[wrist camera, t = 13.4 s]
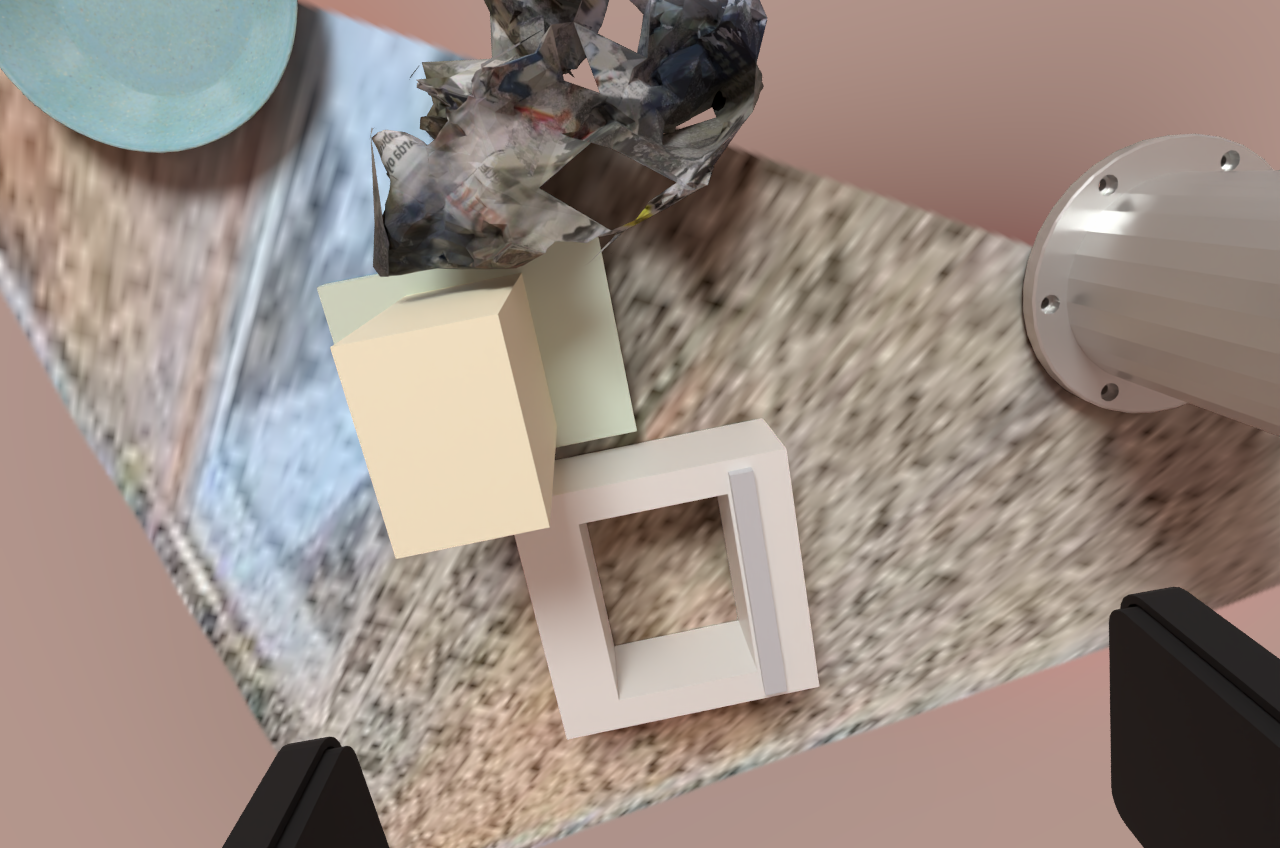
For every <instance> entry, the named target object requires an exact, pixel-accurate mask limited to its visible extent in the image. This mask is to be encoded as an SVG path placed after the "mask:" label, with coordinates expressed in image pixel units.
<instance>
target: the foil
mask: <svg viewBox="0 0 1280 848" xmlns="http://www.w3.org/2000/svg"><path fill="white" fill-rule="evenodd" d="M484 1H485V3H486V5H487V7H488V9H489V11H490V21H491V43H492V58H491V59H481V60H460V61H439V62H422V65H423V68H424V72H425V76H426V79H419V80H417V81H418V82H419V83H417V88H419V89H421V90H423V91H426V92H428V94H429V95H430V96H431V97H432V101H433V106H432V108H431V109H430V111H429V113H428V115H427V116H425V117H421V120H420V129H422V130H425V131H427V132H428V133H429V135H430V136H432V137H433V138H434V139H435V140H434V141H432V142H431V143H430V144H429V145H427V144H426V143H424V142H423V141H422V140H420V139H418V138H416V137H414V136H412V135H410V134H408V133H405V132H399V131H391V130H383V131H381V132H378V133H377V134H376V135H374V136H373V137H372V140H373V142H374V144H375V145H376V147H377V149H378V152H379V154H380V157H381V160H382V163H383V165H384V167H385V169H386V171H387V176H388V177H389V178H390V182H391V183H390V190H389V194H388V198H387V201H386V204H385V211H384V213H383V215H382V212H381V204H380V197H379V190H378V183H377V176H376V169H375V162H374V154H373V147H372V140H371V150H372V173H373V196H374V219H375V229H374V257H373V267H374V269H375V270H376V272H377V273H378V274H379V276H380V277H389V276H398V275H404V274H409V273H414V272H418V271H425V270H431V269H437V268H438V269H514V268H518V267H520V266H524V265H525V264H527V263H528V262H530V261H532V260H534V259H535V258H537V257H539V256H541V255H543V254H545V253H546V250H547V248H549V247H550V246H551V245H552V244H553V243H554V242H555V241H563V242H580V243H588V242H589V241H591V240H592V239H594V238H596V237H601V236H605V235H610V234H615V233H617V234H616V235H615V236H614V237H613V238H612V239H611V240H610V242H609V243H608V244H607V245H606V246H605V247H604V248H603V249H602V250H601V251H600V252H602V251H603V250H604V249H605V248H606V247H607V246H608V245H609V244H610V243H611V242H612V241H614V240H615V239H616V238H617V237H618V236H619V235H620V234H621V233H622V232H623V231H625V230H627V229H629V228H630V227H632V226H634V225H636V224H638V223H640V222H642V221H644V220H645V219H647V218H649V217H651V216H653V215H655V214H657V213H658V212H660V211H662V210H664V209H666V208H668V207H670V206H671V205H673V204H675V203H676V202H678V201H680V200H681V199H683V198H685V197H686V196H688V195H690V194H692V193H693V192H695V191H697V190H698V189H700V188H702V187H704V186H707V185H708V183H709V180H710V177H711V174H712V171H713V169H714V167H713V166H714V164H715V163H716V161H717V160H718V159H719V157H720V156H721V154H722V153H723V151H724V150H725V149H726V147H727V146H728V144H729V143H730V141H731V140H732V139H733V137H734V136H735V134H736V133H737V131H738V130H739V129H740V127H741V126H742V124H743V123H744V122H745V121H746V119H747V118H748V117H749V116H750V114H751V113H752V112H753V110H754V107H755V105H756V102H757V100H758V98H759V94H760V91H761V90H762V89H763V83H762V73H761V71H760V70H759V68H758V66H757V64H756V63H757V59H758V54H759V51H760V46H761V42H762V38H763V34H764V30H765V26H766V22H767V16H766V14H765V12H764V10H763V7H762V5H761V2H760V0H630V1H631V2H632V3H633V4H634V5H635V6H636V7H637V8H638V9H639V10H640V11H641V12H642V13H643V14H644V15H643V22H642V29H641V36H640V41H639V46H638V52H637V53H636V52H634V51H632V50H630V49H628V48H626V47H624V46H622V45H620V44H618V43H615V42H613V41H611V40H609V39H607V38H605V37H603V36H601V35H599V34H598V31H599V29H600V27H601V26H602V23H603V20H604V17H605V13H606V10H607V6H608V2H609V0H484ZM585 58H587V59H588V62H589V65H590V67H591V70H592V73H593V76H594V78H595V81H596V83H597V86H598V89H599V92H600V93H598V92H595V91H592V90H589V89H586V88H584V87H580V86H578V85H575V84H572V83H569V82H566V81H564V79H563V74H567V73H569V74H570V75H572V76H573V74H572V73H571V71H570V70H571V69H577V68H578V66H579V65H580V63H581V62H582V61H583V60H584V59H585ZM418 67H419V66H418ZM416 70H417V69H416ZM416 70H415V71H416ZM415 71H414V72H415ZM413 74H414V73H413ZM413 74H412V75H413ZM412 75H411V76H412ZM573 77H574V76H573ZM410 78H411V77H410ZM710 108H713V110H714V112H715V115H716V118H713V119H710V120H707V121H704V122H701V123H698V124H694V125H691V126H688V127H685V128H682V129H678V130H675V128H676V126H678V125H680V124H682V123H684V122H686V121H688V120H690V119H691V118H692V117H694V116H696V115H698V114H700V113H702V112H704V111H706V110H708V109H710ZM372 130H373V128H372V129H371V133H372ZM736 130H737V131H736ZM735 131H736V132H735ZM734 132H735V133H734ZM663 133H666V134H663ZM733 133H734V134H733ZM732 134H733V135H732ZM731 135H732V136H731ZM730 136H731V137H730ZM370 137H371V136H370ZM729 137H730V138H729ZM728 138H729V139H728ZM727 139H728V140H727ZM726 140H727V141H726ZM725 141H726V142H725ZM724 142H725V143H724ZM590 143H594V144H598V145H601V146H605V147H609V148H612V149H614V150H616V151H618V152H620V153H621V154H623V155H625V156H627V157H629V158H631V159H633V160H635V161H637V162H639V163H640V164H642V165H644V166H646V167H648V168H650V169H652V170H654V171H656V172H658V173H660V174H661V175H663V176H665V177H667V178H669V179H671V180H673V181H675V182H677V183H676V184H674V185H673V186H671V187H670V188H668V189H667V190H665V191H664V192H662V193H661V194H659V195H658V196H656V197H655V198H653V199H652V200H650V201H649V203H648V204H647V205H646V207H645V208H644V210H643V211H642V212H641V214H640V215H639V216H638V217H637V219H636V220H635V221H632V222H630V223H628V224H625V225H623V226H621V227H618V228H616V229H614V230H612V231H611V230H609V229H608V228H606V227H604V226H602V225H601V224H599V223H597V222H596V221H594V220H592V219H591V218H589V217H587V216H586V215H584V214H582V213H580V212H579V211H577V210H575V209H574V208H572V207H570V206H569V205H567V204H565V203H564V202H562V201H560V200H558V199H557V198H555V197H553V196H552V195H550V194H548V193H547V192H545V191H543V190H542V189H540V188H539V187H541V186H542V185H543V184H544V183H545V182H546V181H547V180H549V179H550V178H551V177H552V176H553V175H554V174H555V173H557V172H558V171H559V170H560V169H561V168H562V167H564V166H565V165H566V164H567V163H568V162H569V161H570V160H572V159H573V158H574V157H575V156H576V155H577V154H579V153H580V152H581V151H582V150H583V149H584V148H585V147H587V146H588V145H589V144H590ZM723 143H724V144H723ZM722 144H723V145H722ZM721 145H722V146H721ZM720 146H721V147H720ZM719 147H720V148H719ZM718 148H719V149H718ZM717 149H718V150H717ZM716 150H717V151H716ZM715 151H716V152H715ZM714 152H715V153H714ZM713 153H714V154H713ZM627 247H628V246H627ZM600 252H599V253H600ZM599 253H598V254H599ZM598 254H597V255H598ZM611 254H612V253H611ZM597 255H596V256H597ZM596 256H595V257H596ZM595 257H594V258H595ZM594 258H593V259H594ZM593 259H592V260H593ZM592 260H591V261H592ZM591 261H590V262H591ZM595 261H596V260H595ZM590 262H589V263H590ZM589 263H588V264H589Z"/></svg>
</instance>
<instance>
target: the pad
mask: <svg viewBox="0 0 1280 848" xmlns="http://www.w3.org/2000/svg"><path fill="white" fill-rule="evenodd" d="M600 251H601V247H600V242H599V237H596V238H594V239H592V240H591V241H589V242H588V243H580V242H563V241H555V242H554V243H553V244H552V245H551V246H550V247H549V248H547V250H546V253H545V254H543V255H541V256H539V257H537V258H535V259H534V260H532V261H530V262H528V263H527V264H525V265H524V266H520V267H518V268H514V269H438V268H437V269H431V270H425V271H418V272H414V273H409V274H404V275H398V276H389V277H380V276H379V274H374V275H369V276H364V277H359V278H354V279H348V280H343V281H338V282H333V283H328V284H324V285H322V286H320V287H317V290H318V293H319V296H320V300H321V303H322V306H323V309H324V312H325V316H326V319H327V322H328V325H329V329H330V332H331V335H332V338H333V342H334V344H336V343H337V342H339V341H340V340H342V339H343V338H345V337H346V336H348V335H349V334H350V333H352V332H353V331H355V330H356V329H358V328H359V327H361V326H362V325H364V324H365V323H367V322H368V321H369V320H371V319H372V318H374V317H375V316H377V315H378V314H380V313H381V312H383V311H384V310H386V309H387V308H388V307H390V306H391V305H393V304H394V303H396V302H397V301H399V300H400V299H402V298H403V297H404V296H406V295H411V294H416V293H421V292H426V291H431V290H436V289H442V288H447V287H452V286H457V285H462V284H467V283H472V282H477V281H482V280H487V279H492V278H497V277H502V276H507V275H512V274H517V273H522V276H523V280H524V285H525V289H526V294H527V298H528V302H529V307H530V311H531V315H532V320H533V324H534V328H535V333H536V337H537V341H538V346H539V350H540V354H541V359H542V363H543V367H544V372H545V376H546V380H547V385H548V389H549V393H550V398H551V402H552V407H553V411H554V415H555V420H556V424H557V434H556V447H561V446H566V445H571V444H576V443H581V442H586V441H591V440H596V439H601V438H605V437H610V436H615V435H620V434H625V433H630V432H635V431H637V429H636V424H635V419H634V414H633V409H632V404H631V399H630V394H629V389H628V384H627V379H626V374H625V369H624V364H623V359H622V354H621V348H620V343H619V338H618V333H617V328H616V323H615V318H614V313H613V308H612V303H611V298H610V293H609V288H608V283H607V278H606V273H605V268H604V263H603V257H602V252H600ZM599 252H600V253H599ZM598 253H599V254H598ZM597 254H598V255H597ZM596 255H597V256H596ZM595 256H596V257H595ZM594 257H595V258H594ZM593 258H594V259H593ZM592 259H593V260H592ZM591 260H592V261H591ZM595 260H596V261H595ZM590 261H591V262H590ZM589 262H590V263H589ZM588 263H589V264H588Z"/></svg>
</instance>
